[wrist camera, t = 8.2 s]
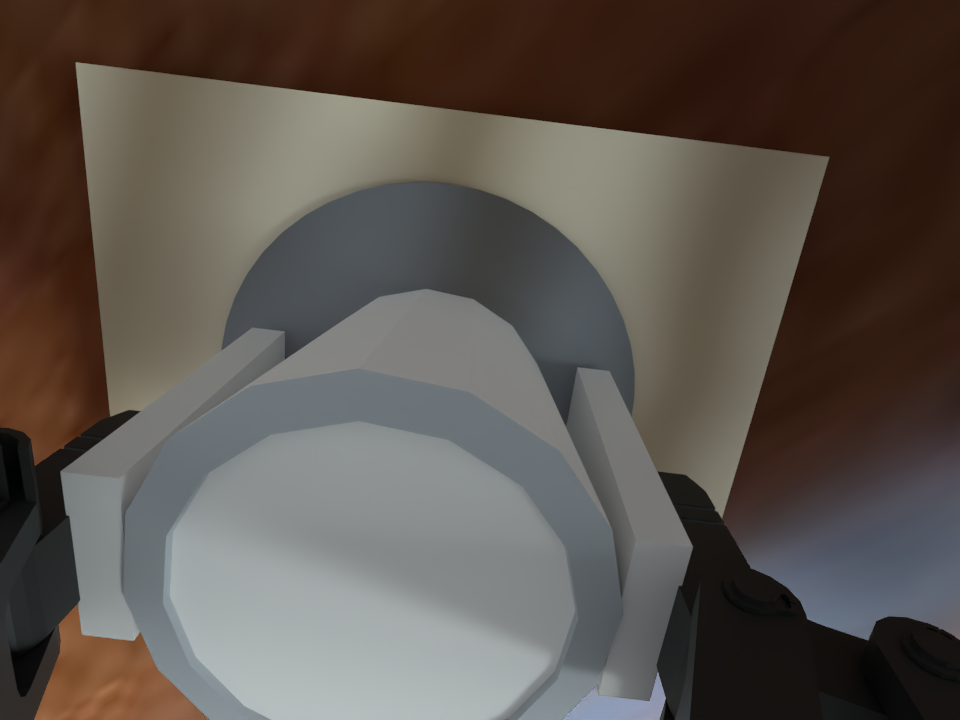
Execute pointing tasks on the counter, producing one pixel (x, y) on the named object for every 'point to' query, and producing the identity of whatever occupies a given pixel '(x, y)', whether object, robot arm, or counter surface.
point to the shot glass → (379, 533)
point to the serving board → (443, 242)
